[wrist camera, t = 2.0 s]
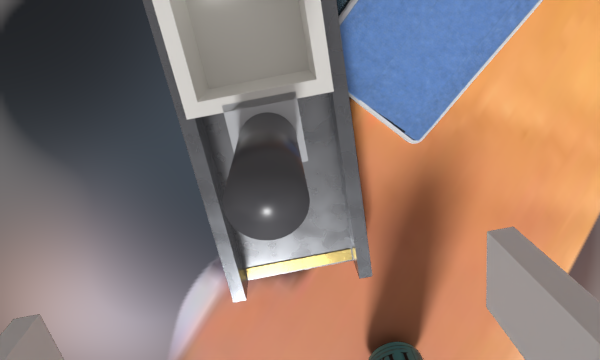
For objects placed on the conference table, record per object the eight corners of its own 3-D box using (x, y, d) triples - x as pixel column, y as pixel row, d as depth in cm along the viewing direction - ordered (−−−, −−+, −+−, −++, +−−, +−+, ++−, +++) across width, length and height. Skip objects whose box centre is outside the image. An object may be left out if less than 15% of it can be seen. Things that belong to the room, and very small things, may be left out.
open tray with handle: (215, 154, 34) (173, 259, 19) (163, -36, 29) (48, -93, 14) (331, 132, 34) (377, 220, 19) (301, -63, 29) (334, -148, 14)
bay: (236, 276, 41) (233, 302, 37) (140, -60, 29) (121, -71, 26) (363, 252, 41) (372, 276, 37) (315, -94, 29) (322, -111, 25)
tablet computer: (412, 145, 37) (417, 150, 36) (304, 62, 34) (305, 64, 33) (574, -44, 32) (586, -46, 31) (465, -164, 29) (474, -172, 27)
